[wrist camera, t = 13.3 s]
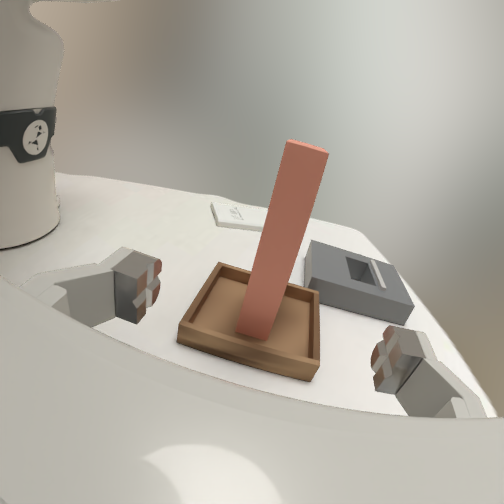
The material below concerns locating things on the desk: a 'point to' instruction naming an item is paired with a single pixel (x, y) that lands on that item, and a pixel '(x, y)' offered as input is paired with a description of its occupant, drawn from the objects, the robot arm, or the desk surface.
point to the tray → (246, 347)
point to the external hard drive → (239, 216)
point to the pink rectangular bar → (281, 236)
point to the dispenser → (356, 283)
